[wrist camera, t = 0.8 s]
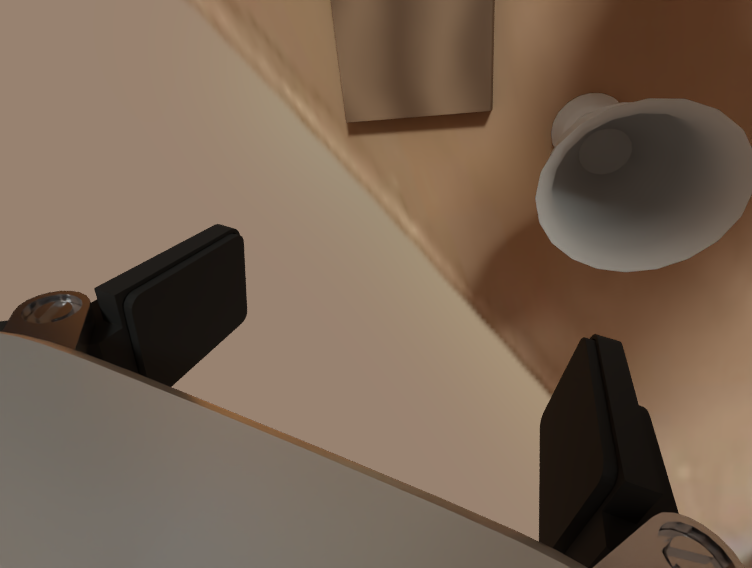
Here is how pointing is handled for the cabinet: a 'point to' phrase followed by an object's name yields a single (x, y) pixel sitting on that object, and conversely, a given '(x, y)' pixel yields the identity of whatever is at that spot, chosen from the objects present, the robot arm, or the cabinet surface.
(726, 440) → the cabinet surface
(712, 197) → the chalice
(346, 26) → the walnut board
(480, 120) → the cabinet surface
